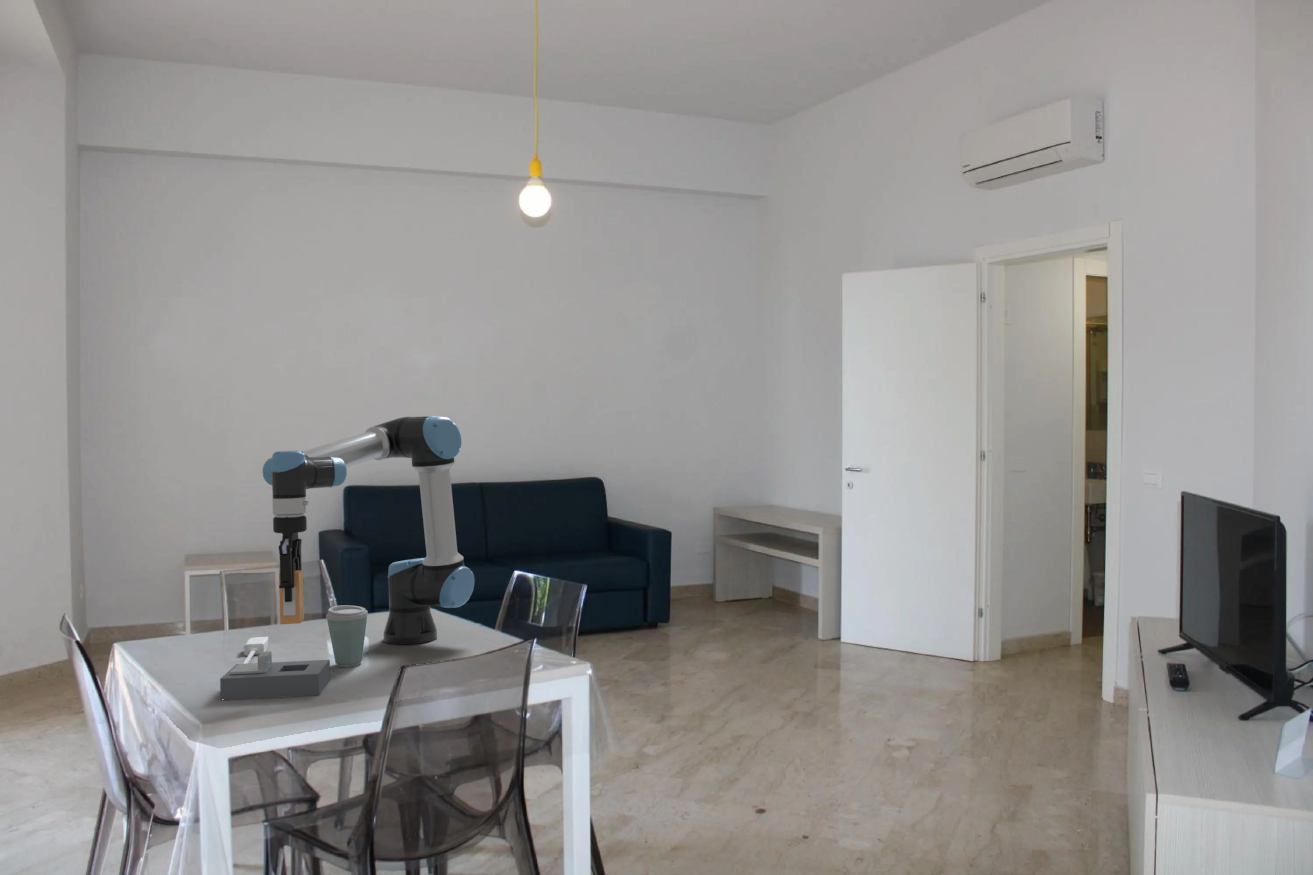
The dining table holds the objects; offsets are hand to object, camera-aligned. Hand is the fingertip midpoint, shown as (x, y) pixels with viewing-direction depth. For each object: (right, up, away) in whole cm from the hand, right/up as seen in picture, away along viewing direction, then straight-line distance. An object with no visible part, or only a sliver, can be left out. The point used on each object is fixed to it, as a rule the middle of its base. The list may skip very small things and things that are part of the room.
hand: (292, 612), depth 247 cm
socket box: (-3, -18, 0) cm, 19 cm away
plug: (0, -2, 0) cm, 2 cm away
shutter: (-9, -13, -1) cm, 16 cm away
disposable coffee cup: (+7, -18, +23) cm, 30 cm away
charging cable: (-22, -18, +32) cm, 43 cm away
